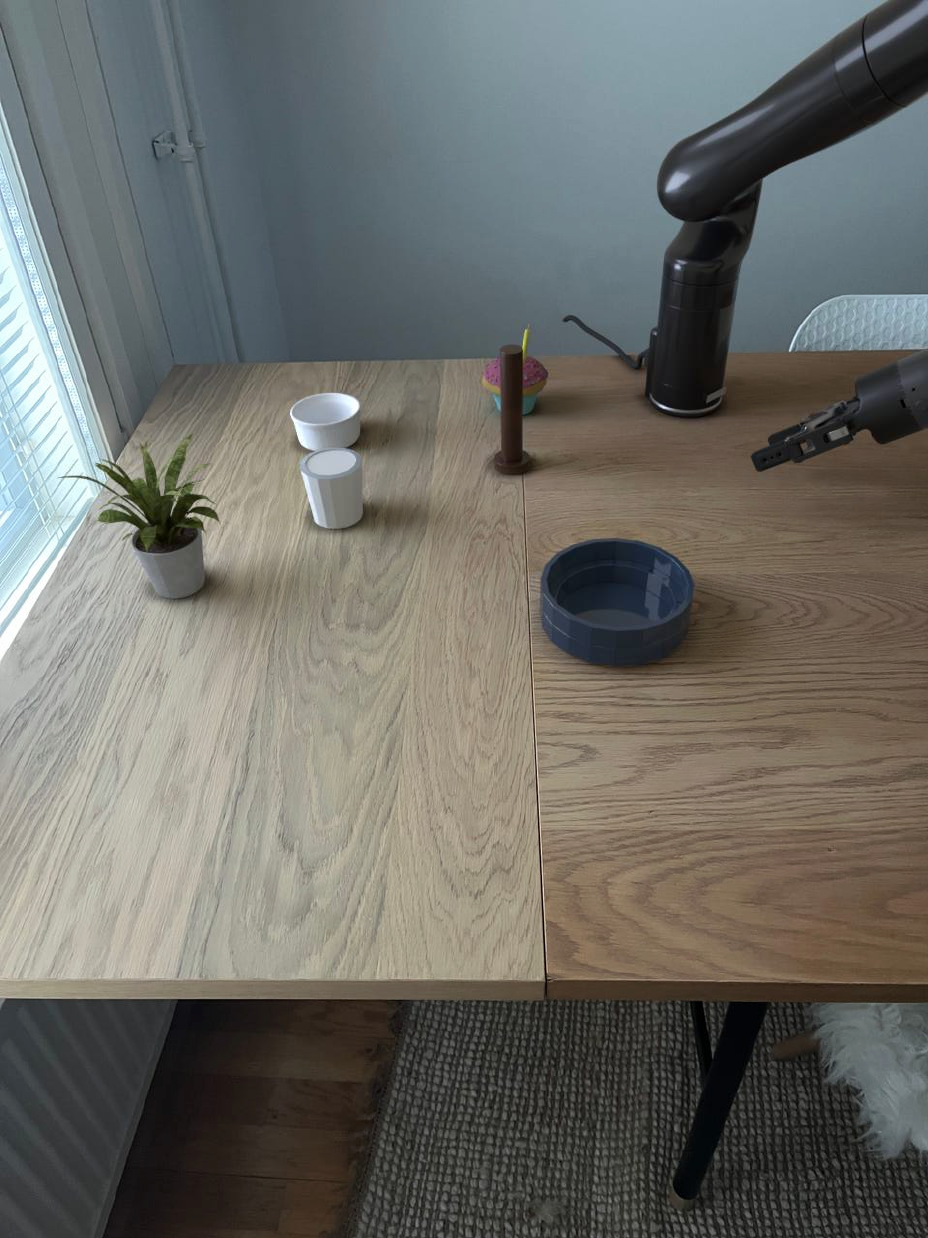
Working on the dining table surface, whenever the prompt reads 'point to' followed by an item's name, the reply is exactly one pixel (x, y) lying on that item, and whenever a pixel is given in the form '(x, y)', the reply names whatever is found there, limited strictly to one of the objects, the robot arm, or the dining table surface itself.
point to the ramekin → (327, 421)
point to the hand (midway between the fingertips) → (762, 454)
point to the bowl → (616, 601)
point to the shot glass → (334, 486)
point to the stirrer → (511, 413)
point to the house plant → (162, 523)
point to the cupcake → (531, 378)
